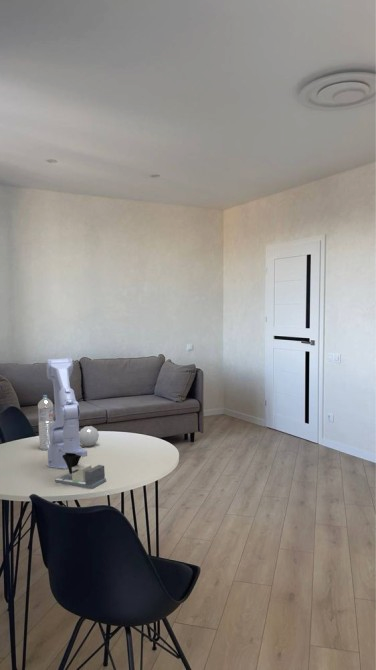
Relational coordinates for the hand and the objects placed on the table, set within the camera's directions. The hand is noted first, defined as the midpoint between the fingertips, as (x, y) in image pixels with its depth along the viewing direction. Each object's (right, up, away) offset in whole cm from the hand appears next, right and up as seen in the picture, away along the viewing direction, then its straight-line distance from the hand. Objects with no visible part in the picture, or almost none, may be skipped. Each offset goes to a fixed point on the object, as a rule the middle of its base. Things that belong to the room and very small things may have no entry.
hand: (72, 473), depth 178 cm
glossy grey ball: (-5, -1, +51) cm, 52 cm away
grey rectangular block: (+9, -2, -4) cm, 10 cm away
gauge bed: (+3, -3, -1) cm, 4 cm away
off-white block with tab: (+4, -2, -3) cm, 5 cm away
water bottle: (-23, -2, +47) cm, 52 cm away
